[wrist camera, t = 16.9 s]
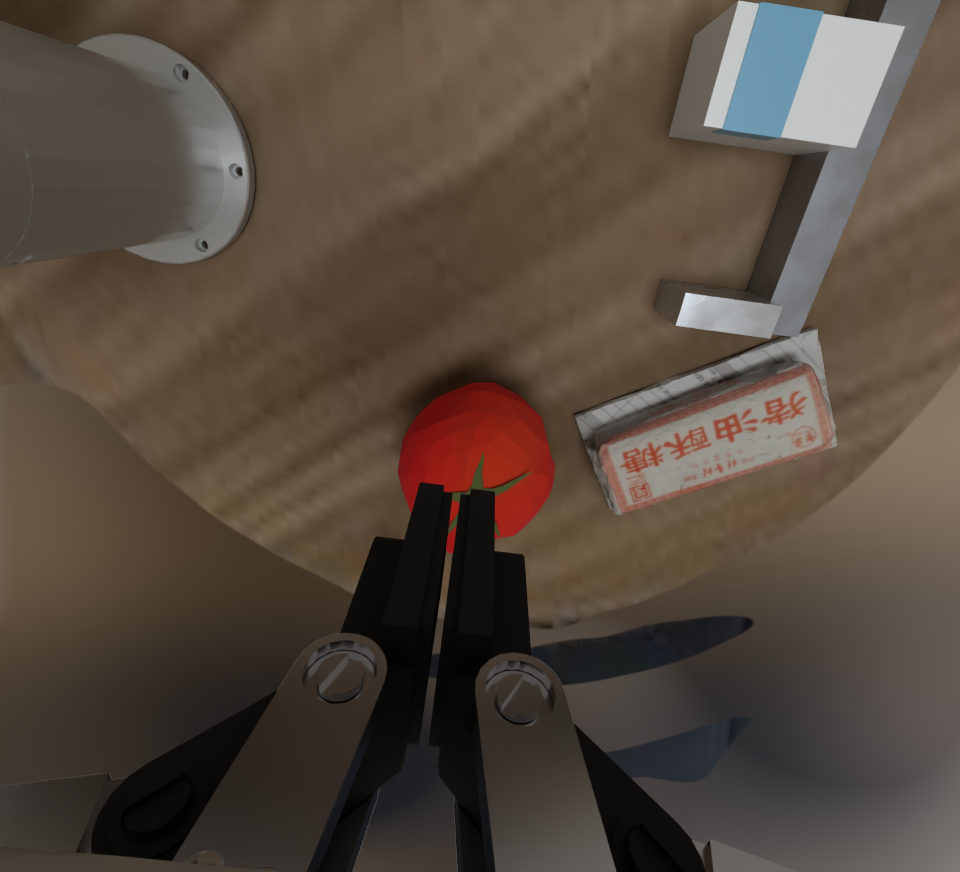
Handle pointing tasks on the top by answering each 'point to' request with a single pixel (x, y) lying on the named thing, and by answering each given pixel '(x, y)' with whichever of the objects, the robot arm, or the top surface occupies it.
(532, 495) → the tomato
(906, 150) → the top surface
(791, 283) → the rail
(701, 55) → the block
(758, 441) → the packaged product
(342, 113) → the top surface
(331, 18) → the top surface
